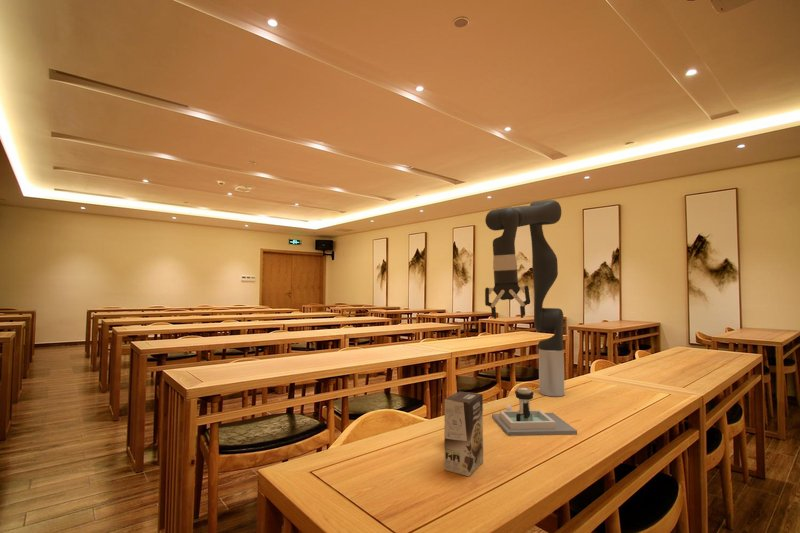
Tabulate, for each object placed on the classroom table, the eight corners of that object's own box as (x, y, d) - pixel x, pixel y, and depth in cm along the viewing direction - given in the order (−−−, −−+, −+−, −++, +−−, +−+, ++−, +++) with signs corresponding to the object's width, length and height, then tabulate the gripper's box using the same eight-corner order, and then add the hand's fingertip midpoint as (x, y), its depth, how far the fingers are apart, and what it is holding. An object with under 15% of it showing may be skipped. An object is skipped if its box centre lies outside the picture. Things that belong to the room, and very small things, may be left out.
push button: (526, 418, 122) (526, 385, 123) (541, 423, 118) (540, 389, 118) (511, 422, 119) (511, 388, 119) (526, 427, 114) (525, 392, 115)
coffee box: (470, 477, 87) (469, 402, 88) (443, 470, 90) (443, 398, 91) (484, 461, 95) (483, 393, 96) (459, 455, 98) (459, 389, 99)
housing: (491, 416, 127) (491, 404, 127) (552, 415, 128) (552, 403, 128) (507, 435, 111) (507, 421, 111) (577, 434, 112) (576, 419, 112)
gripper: (527, 267, 132) (530, 315, 132) (483, 270, 136) (486, 317, 135) (528, 267, 125) (532, 319, 125) (482, 270, 128) (485, 320, 128)
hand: (508, 318), depth 130 cm, fingers open, 8 cm apart
